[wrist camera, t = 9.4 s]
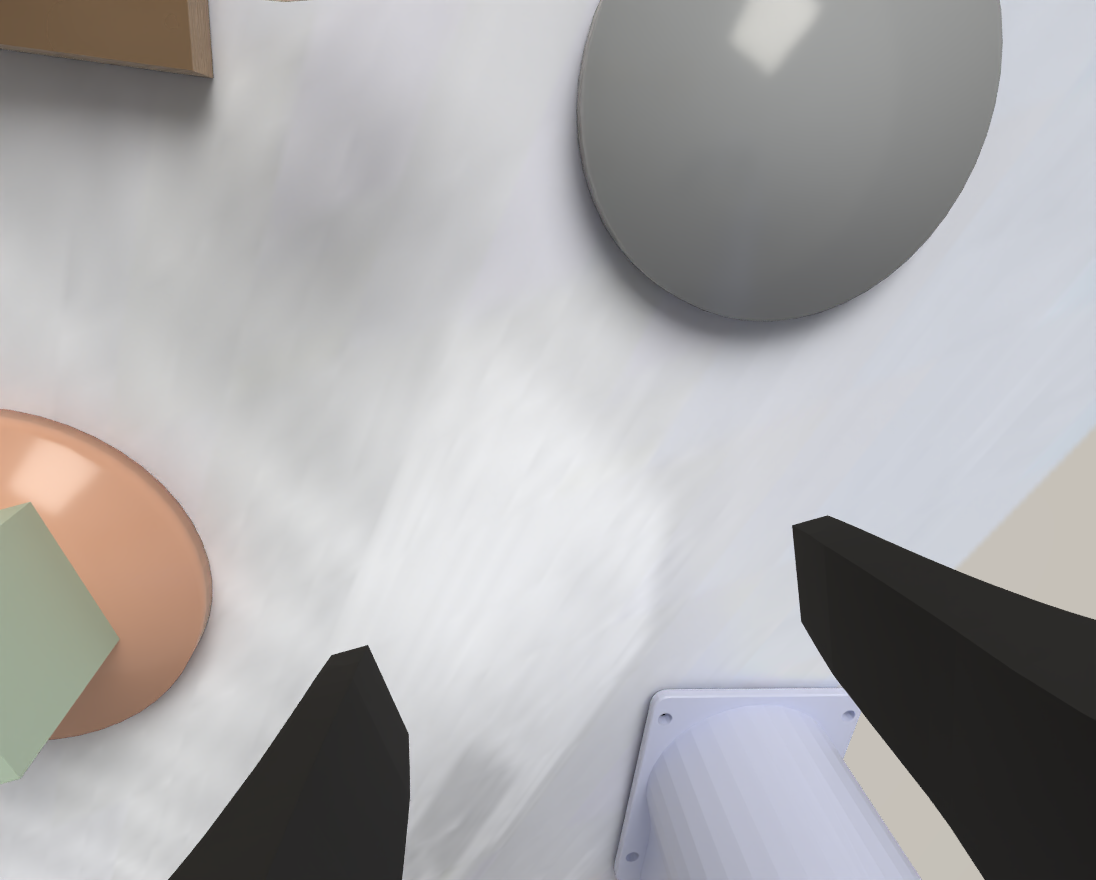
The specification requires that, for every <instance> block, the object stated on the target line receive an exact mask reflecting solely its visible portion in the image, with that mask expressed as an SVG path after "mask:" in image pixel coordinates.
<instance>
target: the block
mask: <svg viewBox="0 0 1096 880" xmlns="http://www.w3.org/2000/svg"><path fill="white" fill-rule="evenodd" d="M118 641H119V637H118V636H117V634H116V633H115V631H114V630H113V628H112V626H111V625H110V623H109V622H108V620H107V619H106V617H105V616H104V614H103V613H102V611H101V609H100V608H99V606H98V605H97V603H96V602H95V600H94V599H93V597H92V596H91V594H90V593H89V591H88V589H87V588H86V586H85V585H84V583H83V582H82V580H81V579H80V577H79V576H78V574H77V572H76V571H75V569H74V568H73V566H72V565H71V563H70V562H69V560H68V559H67V557H66V556H65V554H64V552H63V551H62V549H61V548H60V546H59V545H58V543H57V542H56V540H55V539H54V537H53V535H52V534H51V532H50V531H49V529H48V528H47V526H46V525H45V523H44V522H43V520H42V519H41V517H40V515H39V514H38V512H37V511H36V509H35V508H34V506H33V505H32V503H31V502H28V503H24V504H20V505H16V506H13V507H9V508H5V509H1V510H0V784H3V783H7V782H10V781H14V780H18V779H21V777H22V776H23V775H24V773H25V772H26V770H27V769H28V768H29V766H30V765H31V763H32V762H33V761H34V759H35V758H36V756H37V755H38V754H39V752H40V751H41V749H42V748H43V746H44V745H45V744H46V742H47V741H48V739H49V738H50V737H51V735H52V734H53V732H54V731H55V730H56V728H57V727H58V725H59V724H60V723H61V721H62V720H63V718H64V717H65V715H66V714H67V713H68V711H69V710H70V708H71V707H72V706H73V704H74V703H75V701H76V700H77V699H78V697H79V696H80V694H81V693H82V692H83V690H84V689H85V687H86V686H87V685H88V683H89V682H90V680H91V679H92V677H93V676H94V675H95V673H96V672H97V670H98V669H99V668H100V666H101V665H102V663H103V662H104V661H105V659H106V658H107V656H108V655H109V654H110V652H111V651H112V649H113V648H114V646H115V645H116V644H117V642H118Z"/></svg>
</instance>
